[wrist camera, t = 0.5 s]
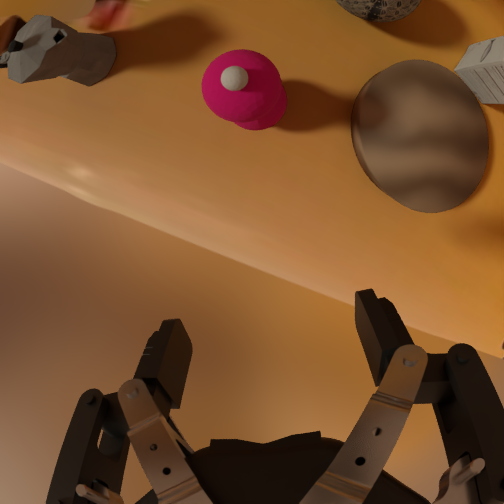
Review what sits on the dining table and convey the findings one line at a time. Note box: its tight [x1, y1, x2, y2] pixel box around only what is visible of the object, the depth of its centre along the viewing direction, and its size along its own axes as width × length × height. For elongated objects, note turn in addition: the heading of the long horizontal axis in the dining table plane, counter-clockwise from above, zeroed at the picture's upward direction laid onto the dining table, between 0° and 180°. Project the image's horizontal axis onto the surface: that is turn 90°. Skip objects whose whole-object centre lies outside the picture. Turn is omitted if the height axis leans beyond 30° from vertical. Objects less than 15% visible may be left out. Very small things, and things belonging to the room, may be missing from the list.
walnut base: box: [351, 60, 489, 213], centre depth 30 cm, size 20×20×5 cm
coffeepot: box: [0, 15, 116, 86], centre depth 23 cm, size 15×9×18 cm, turn 82°
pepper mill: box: [202, 49, 287, 130], centre depth 24 cm, size 7×7×20 cm
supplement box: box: [454, 36, 504, 104], centre depth 20 cm, size 7×7×13 cm
